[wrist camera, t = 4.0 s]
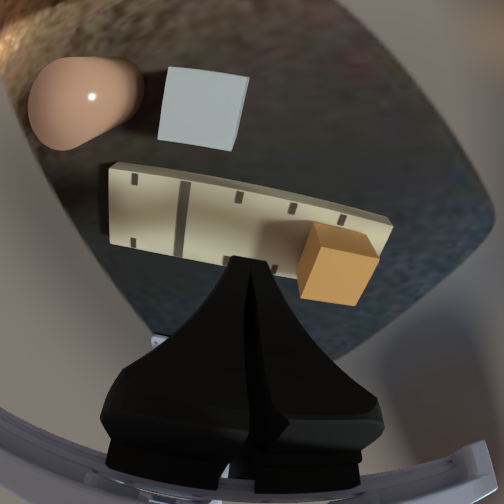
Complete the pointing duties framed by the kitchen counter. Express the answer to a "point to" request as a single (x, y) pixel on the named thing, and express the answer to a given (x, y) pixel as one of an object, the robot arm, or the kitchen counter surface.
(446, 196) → the kitchen counter surface
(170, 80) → the grey block
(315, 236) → the tan square block
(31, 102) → the tan rounded cylinder
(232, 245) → the counting board
